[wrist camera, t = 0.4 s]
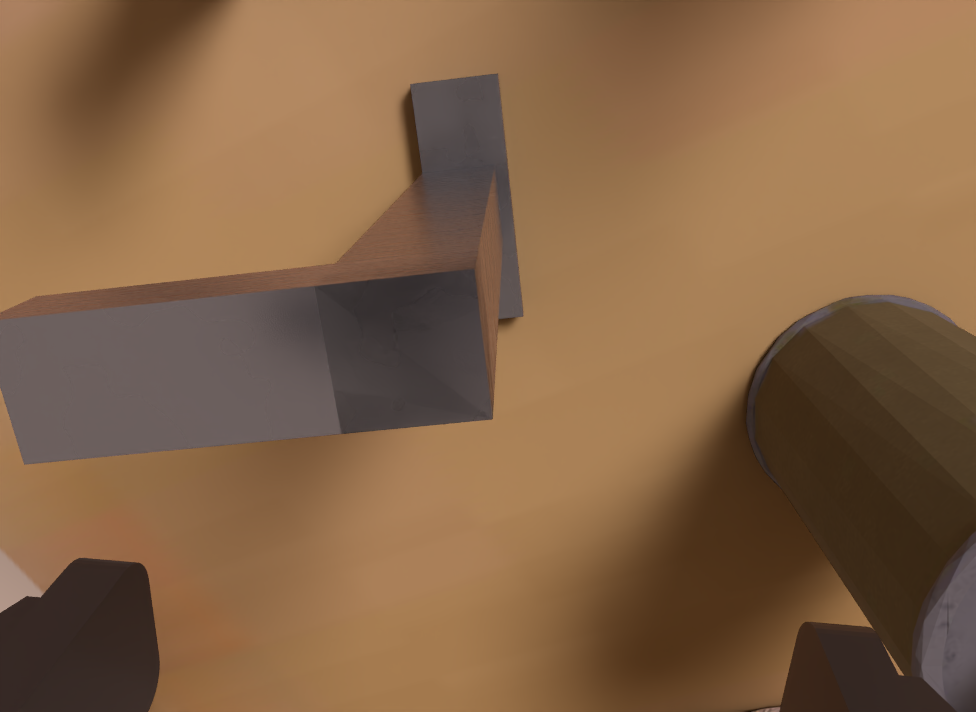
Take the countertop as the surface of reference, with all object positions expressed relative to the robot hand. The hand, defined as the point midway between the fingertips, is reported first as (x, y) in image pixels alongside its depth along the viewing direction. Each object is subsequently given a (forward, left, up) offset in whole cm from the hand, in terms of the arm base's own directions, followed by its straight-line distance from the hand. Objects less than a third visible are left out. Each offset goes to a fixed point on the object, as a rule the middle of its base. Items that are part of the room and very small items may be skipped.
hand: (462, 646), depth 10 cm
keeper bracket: (-2, -4, -28) cm, 28 cm away
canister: (+9, +16, -28) cm, 33 cm away
